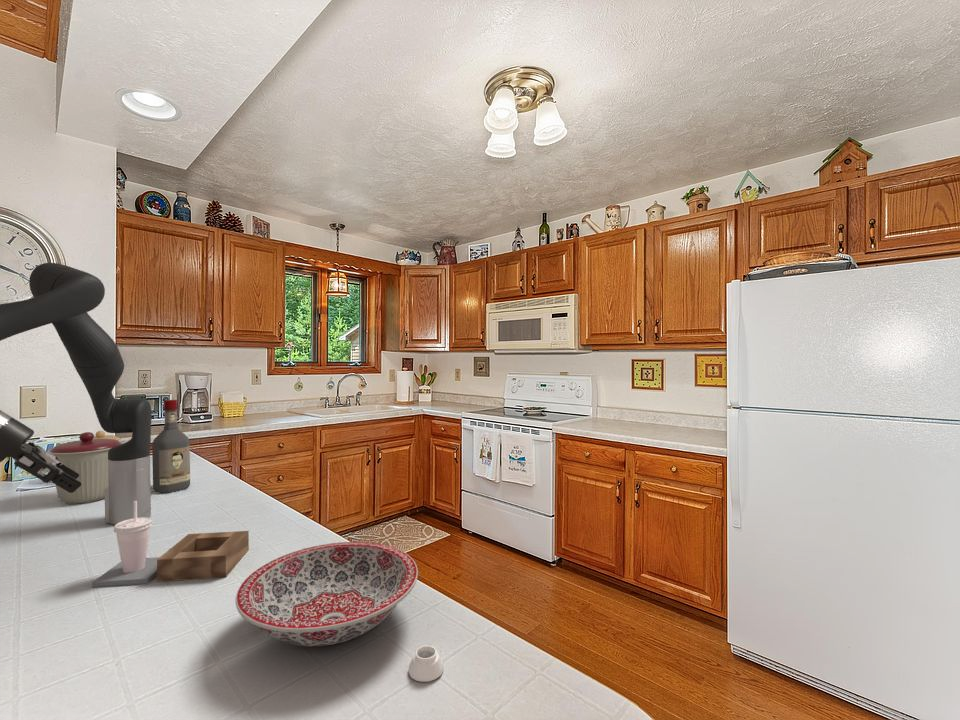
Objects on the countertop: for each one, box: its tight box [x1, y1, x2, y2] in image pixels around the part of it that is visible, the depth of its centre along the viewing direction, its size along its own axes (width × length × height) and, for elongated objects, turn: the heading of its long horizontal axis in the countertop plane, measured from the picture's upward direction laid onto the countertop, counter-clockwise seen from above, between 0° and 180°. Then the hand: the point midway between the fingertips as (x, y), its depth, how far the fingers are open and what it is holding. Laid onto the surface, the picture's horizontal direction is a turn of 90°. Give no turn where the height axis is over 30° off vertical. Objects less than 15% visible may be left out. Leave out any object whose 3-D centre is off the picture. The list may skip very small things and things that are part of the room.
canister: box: [46, 431, 124, 505], centre depth 144 cm, size 18×18×21 cm
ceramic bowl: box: [235, 541, 419, 647], centre depth 78 cm, size 29×29×8 cm
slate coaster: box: [91, 556, 161, 588], centre depth 96 cm, size 10×10×1 cm
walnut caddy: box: [156, 530, 250, 582], centre depth 100 cm, size 13×13×4 cm
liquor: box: [151, 399, 191, 494], centre depth 154 cm, size 9×9×30 cm
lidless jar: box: [408, 645, 444, 683], centre depth 67 cm, size 5×3×5 cm
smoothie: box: [113, 501, 153, 573], centre depth 96 cm, size 6×6×14 cm
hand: (76, 483), depth 89 cm, fingers open, 8 cm apart
